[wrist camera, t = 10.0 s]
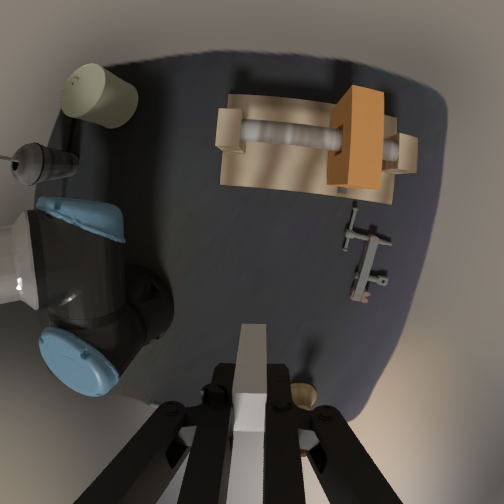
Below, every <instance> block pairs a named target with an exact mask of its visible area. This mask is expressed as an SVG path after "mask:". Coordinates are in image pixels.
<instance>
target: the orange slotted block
mask: <svg viewBox="0 0 504 504" xmlns="http://www.w3.org/2000/svg"><path fill="white" fill-rule="evenodd" d="M331 128H333V129H339V130H343V136H342V152H339V151H332V150H329V160H328V172H327V183H326V185H331V186H338V187H345V188H352V189H378V190H380V184H381V172H382V158H383V137H384V92H380V91H377V90H373V89H368V88H364V87H360V86H355V85H352V86H351V87H350V88H349V90H348V91H347V92H346V93H345V94H344V96H343V97H342V98H341V99H340V101H339V102H338V103H337V104H336V105H335V107H334V108H333V109H332V110H331Z"/></svg>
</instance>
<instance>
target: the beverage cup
mask: <svg viewBox="0 0 504 504" xmlns="http://www.w3.org/2000/svg"><path fill="white" fill-rule="evenodd" d="M0 159H4V160H9V161H12V163H11V171H12V174H13V177H14V178H15V179H16V180H17V181H18V182H19V183H21V184H24V185H28V186H31V185H34V184H37V183H40V182H41V181H46V180H52V179H58V178H64V177H69V176H73V175H74V174H75V173H76V172H77V170H78V167H79V160H78V157H77V156H76V155H75V154H71V153H69V152H64V151H60V150H56V149H52V148H47V147H45V146H43V145H40V144H38V143H30V144H26V145H24V146H22V147H21V148H20V149H18V150H17V152H16V153H15V155H14V156H13V158H11V157H6V156H0Z"/></svg>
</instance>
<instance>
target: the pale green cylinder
mask: <svg viewBox="0 0 504 504" xmlns="http://www.w3.org/2000/svg"><path fill="white" fill-rule="evenodd" d="M137 105H138V93H137V90H136V89H135V87H134V86H133V85H131V84H129V83H127V82H125V81H123V80H122V79H120V78H118V77H117V76H115V75H114V74H112V73H111V72H109V71H107V70H106V69H104V68H103V67H102V66H101V65H99V64H96V63H89V64H85V65H83V66H81V67H80V68H78V69H77V70H76V71H75V72H74V73H73V74H72V75H71V76H70V77H69V78H68V80H67V81H66V83H65V85H64V87H63V90H62V94H61V108H62V110H63V112H64V113H65V114H66V115H67V116H69V117H72V118H78V119H82V120H86V121H89V122H93V123H96V124H99V125H102V126H104V127H106V128H117V127H120V126H122V125H124V124H125V123H126V122H127V121H128V120H129V119H130V118H131V117H132V116H133V114H134V112H135V110H136V108H137Z"/></svg>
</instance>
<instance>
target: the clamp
mask: <svg viewBox="0 0 504 504" xmlns="http://www.w3.org/2000/svg"><path fill="white" fill-rule="evenodd" d="M357 210H358V209H357V208H354V207H353V214H352V219H351V223H350V227H349V229H346V230H345V233H344V235H345V237H347V238H346V242H345V246H344V248H342V250H344V251H348V249H347V247H348V243H349V239H350V238H352V239H353V237H355V238H359V239H363V240H366V243H365V247H364V250H363V254H362V258H361V261H360V265H359V268H358V271H357V272H355V274H354V278H355V281H354V285H353V287H352V288H351V290H350V293H349V296H350V297H351V299H352V300H356V301H360V302H363V303H367V302H368V301H367V299H366V297H367V296H369V295H370V293H369V291H368V290H367V289H365V286H366V283H367V280H368V281H373V282H375V283H376V284H378V285H383V286H386V285H387V283H388V277H385V276H381V275H377V277H376V276H372V275H369V273H370V270H371V267H372V263H373V260H374V256H375V253H376V249H377V246H378V243H379V244H383V245H390V246H392V243H390V242H387V241H385V240H382V239H379V238H378V237H377V236H375V235H373V234H369V235H367V236H366V235H362V234H358V233H355V231H353V230H352V228H353V224H354V220H355V215H356V211H357ZM382 280H383V281H382Z"/></svg>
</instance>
